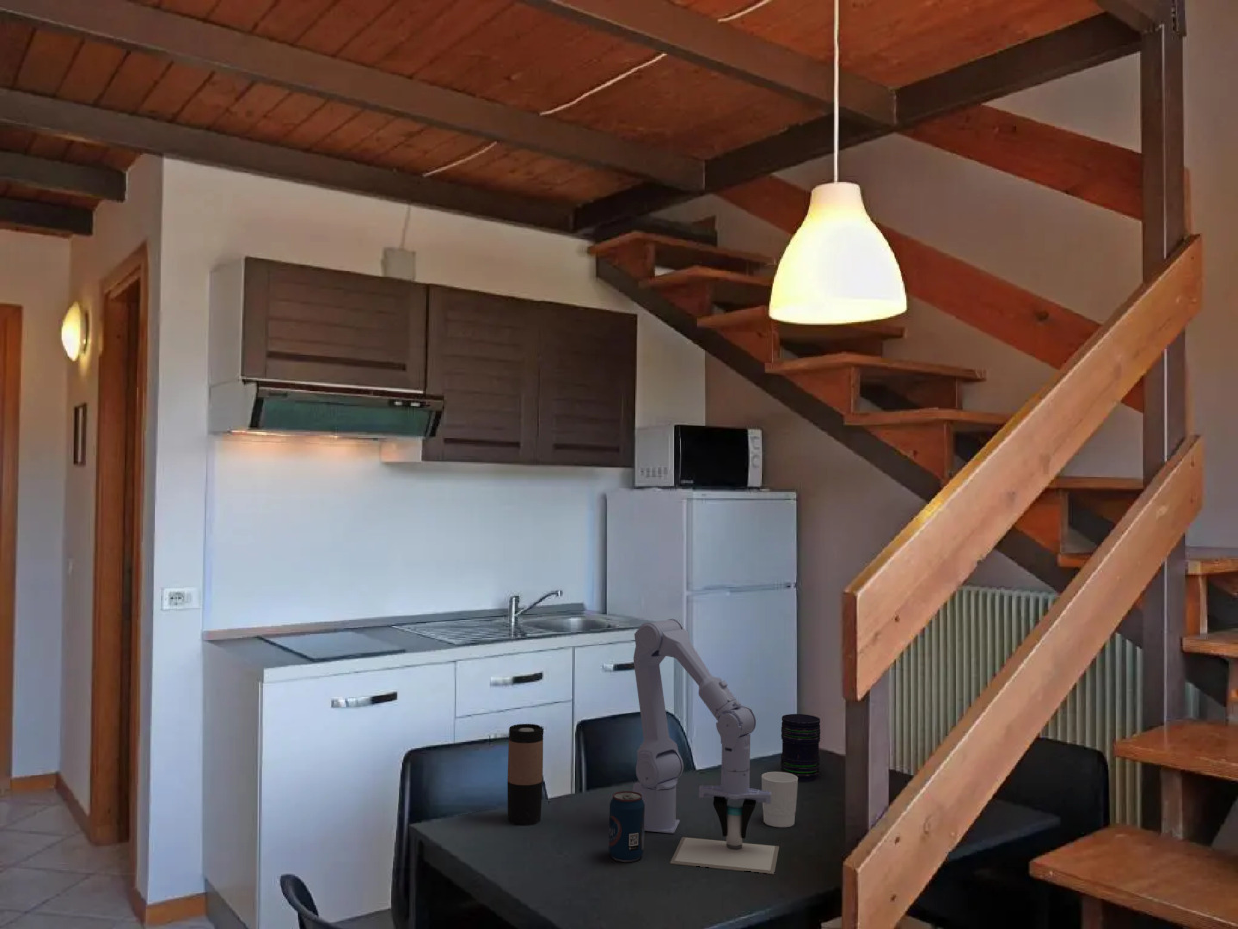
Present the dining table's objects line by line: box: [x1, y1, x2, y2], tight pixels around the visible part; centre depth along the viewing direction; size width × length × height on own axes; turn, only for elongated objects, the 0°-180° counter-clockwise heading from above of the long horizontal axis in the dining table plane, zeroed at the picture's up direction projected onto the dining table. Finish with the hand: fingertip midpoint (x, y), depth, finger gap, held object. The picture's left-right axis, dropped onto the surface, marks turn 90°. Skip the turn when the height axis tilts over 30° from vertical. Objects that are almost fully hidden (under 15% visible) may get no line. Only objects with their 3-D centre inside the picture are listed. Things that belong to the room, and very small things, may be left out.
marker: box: [725, 803, 743, 850], centre depth 202 cm, size 3×3×8 cm
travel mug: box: [506, 723, 544, 826], centre depth 217 cm, size 8×8×20 cm
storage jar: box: [780, 713, 821, 784], centre depth 254 cm, size 10×10×15 cm
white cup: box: [761, 771, 799, 828], centre depth 219 cm, size 8×8×10 cm
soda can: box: [608, 790, 645, 863], centre depth 197 cm, size 7×7×12 cm
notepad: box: [669, 836, 780, 875], centre depth 198 cm, size 20×15×1 cm
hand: (734, 835), depth 202 cm, fingers closed on marker, 3 cm apart
